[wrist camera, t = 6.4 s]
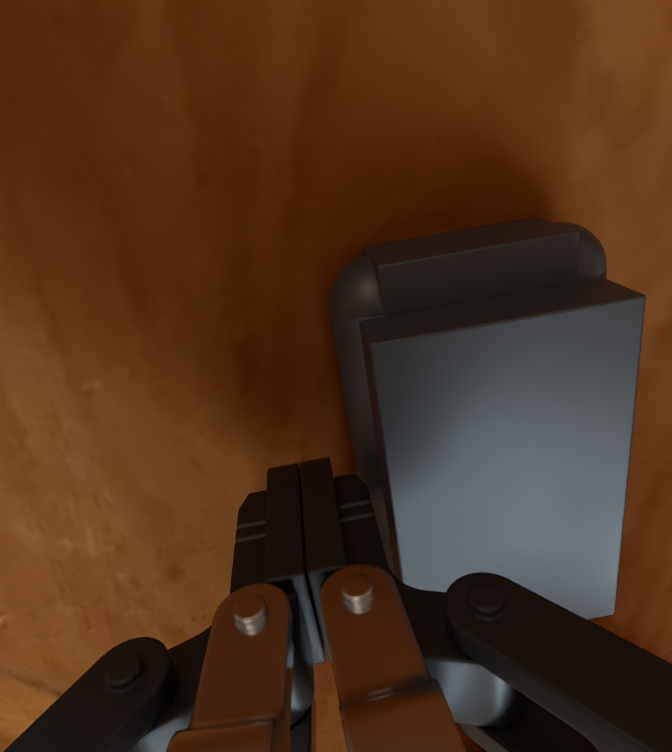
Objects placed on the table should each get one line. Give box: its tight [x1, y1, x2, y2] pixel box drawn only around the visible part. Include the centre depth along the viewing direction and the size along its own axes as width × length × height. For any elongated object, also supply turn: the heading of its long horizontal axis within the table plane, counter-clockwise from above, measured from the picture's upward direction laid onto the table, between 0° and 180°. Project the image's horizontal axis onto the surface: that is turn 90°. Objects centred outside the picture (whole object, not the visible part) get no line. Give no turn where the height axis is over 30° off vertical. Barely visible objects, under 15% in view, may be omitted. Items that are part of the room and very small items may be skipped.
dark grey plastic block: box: [329, 218, 646, 620], centre depth 12 cm, size 10×6×3 cm, turn 9°
